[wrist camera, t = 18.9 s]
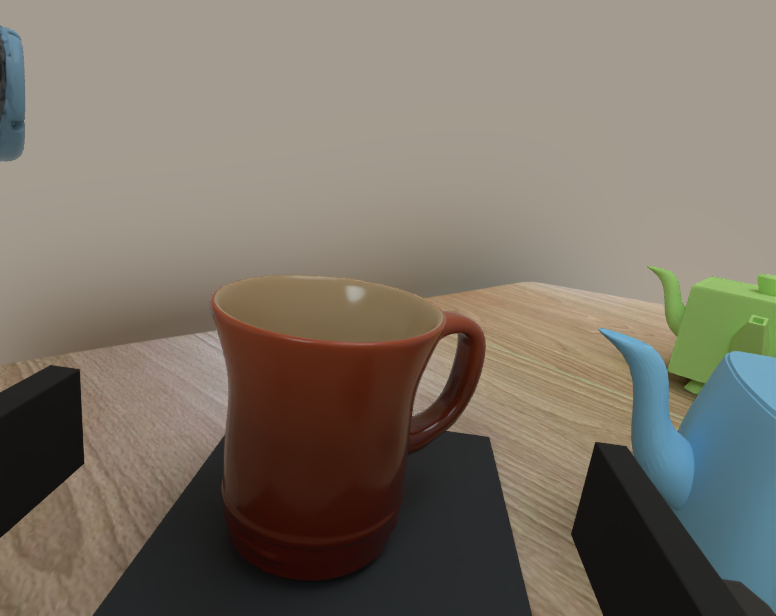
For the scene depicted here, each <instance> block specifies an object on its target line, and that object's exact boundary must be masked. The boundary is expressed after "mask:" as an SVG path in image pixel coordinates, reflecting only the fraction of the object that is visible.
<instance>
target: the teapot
mask: <svg viewBox="0 0 776 616" xmlns="http://www.w3.org/2000/svg"><path fill="white" fill-rule="evenodd" d="M599 331H600V332H601V333H602V334H603V335H604V336H605V337H606V338H607V339H608V340H609V341H610V342H611V343H612V344H613V345H614V346H615V347H616V348H617V349H618V350H619V351H620V352H621V353H622V354H623V356H624V358H625V360H626V362H627V363H628V365H629V368H630V372H631V376H632V380H633V411H632V425H631V440H632V447H633V454H634V457H635V459H636V460H637V462H638V463H639V464H640V466H641V467H642V469H643V470H644V471H645V473H646V474H647V476H648V477H649V478H650V480H651V481H652V483H653V484H654V485H655V487H656V488H657V490H658V491H659V492H660V494H661V495H662V497H663V498H664V499H665V501H666V502H667V504H668V505H669V506H670V508H671V509H672V510H673V512H674V513H675V515H676V516H677V517H678V519H679V520H680V522H681V523H682V524H683V526H684V527H685V529H686V530H687V531H688V533H689V534H690V536H691V537H692V538H693V540H694V541H695V543H696V544H697V545H698V547H699V548H700V550H701V551H702V552H703V554H704V555H705V557H706V558H707V559H708V561H709V562H710V564H711V565H712V566H713V568H714V569H715V570H716V572H717V573H718V575H719V576H720V577H721V579H726V580H733V581H740V582H742V583H743V584H744V585H745V586H746V587H747V588H749V589H750V590H751V591H752V592H753V593H755V594H756V595H757V596H758V597H759V598H761V599H762V600H763V601H764V602H765V603H766V604H768V605H769V606H770V607H771V609H772V610H773V611H774V613H775V614H776V358H773V357H768V356H763V355H757V354H752V353H746V352H740V351H733V352H731V353H727V354H726V355H725V356H724V358H723V359H722V360H721V362H720V363H719V364H718V366H717V367H716V369H715V370H714V372H713V373H712V375H711V376H710V378H709V379H708V381H707V382H706V384H705V385H704V387H703V388H702V389H701V391H700V392H699V394H698V395H697V397H696V399H695V400H694V402H693V403H692V405H691V407H690V408H689V410H688V412H687V414H686V416H685V417H684V419H683V421H682V423H681V425H680V427H679V430H678V432H677V431H676V430H675V428H674V427H673V425H672V423H671V420H670V417H669V404H668V403H669V380H668V372H667V369H666V365H665V363H664V361H663V359H662V358H661V356H660V355H659V353H658V352H657V351H656V350H655V349H654V348H652V347H651V346H650V345H648V344H646V343H644V342H642V341H640V340H637V339H635V338H632V337H630V336H627V335H624V334H621V333H618V332H615V331H611V330H608V329H603V328H599Z"/></svg>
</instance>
